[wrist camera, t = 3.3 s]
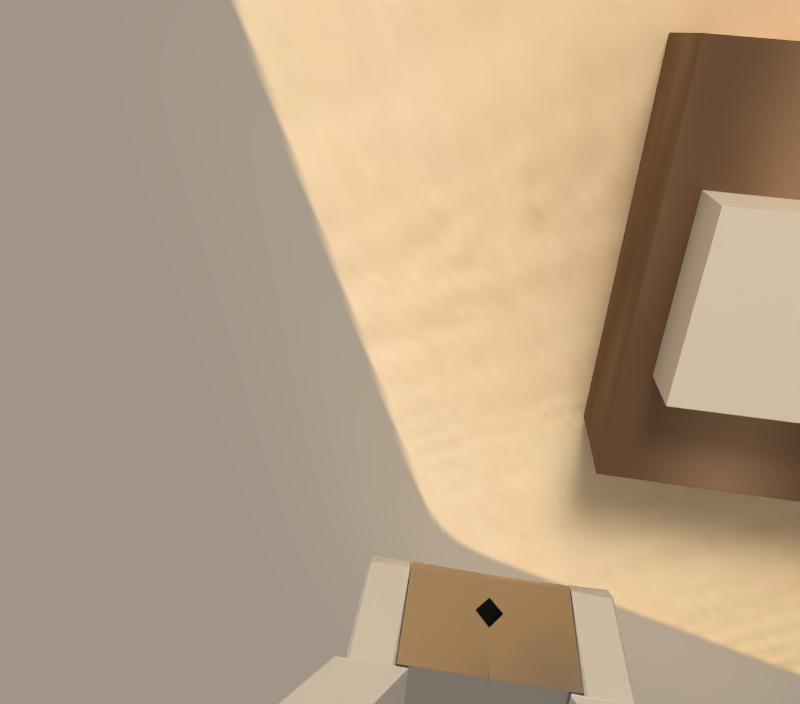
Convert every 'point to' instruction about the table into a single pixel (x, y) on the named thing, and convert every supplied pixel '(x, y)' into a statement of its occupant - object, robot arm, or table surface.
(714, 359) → the rectangular block
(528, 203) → the table surface
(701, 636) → the table surface
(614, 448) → the wooden square slab
